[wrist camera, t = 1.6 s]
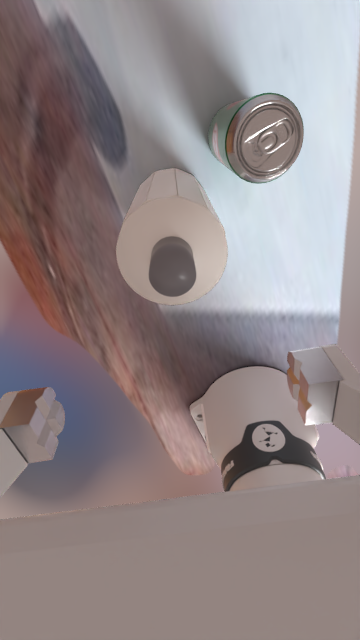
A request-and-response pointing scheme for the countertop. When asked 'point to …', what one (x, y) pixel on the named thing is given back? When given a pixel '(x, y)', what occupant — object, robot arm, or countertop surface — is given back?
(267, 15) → the countertop surface
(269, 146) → the soda can
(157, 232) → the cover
